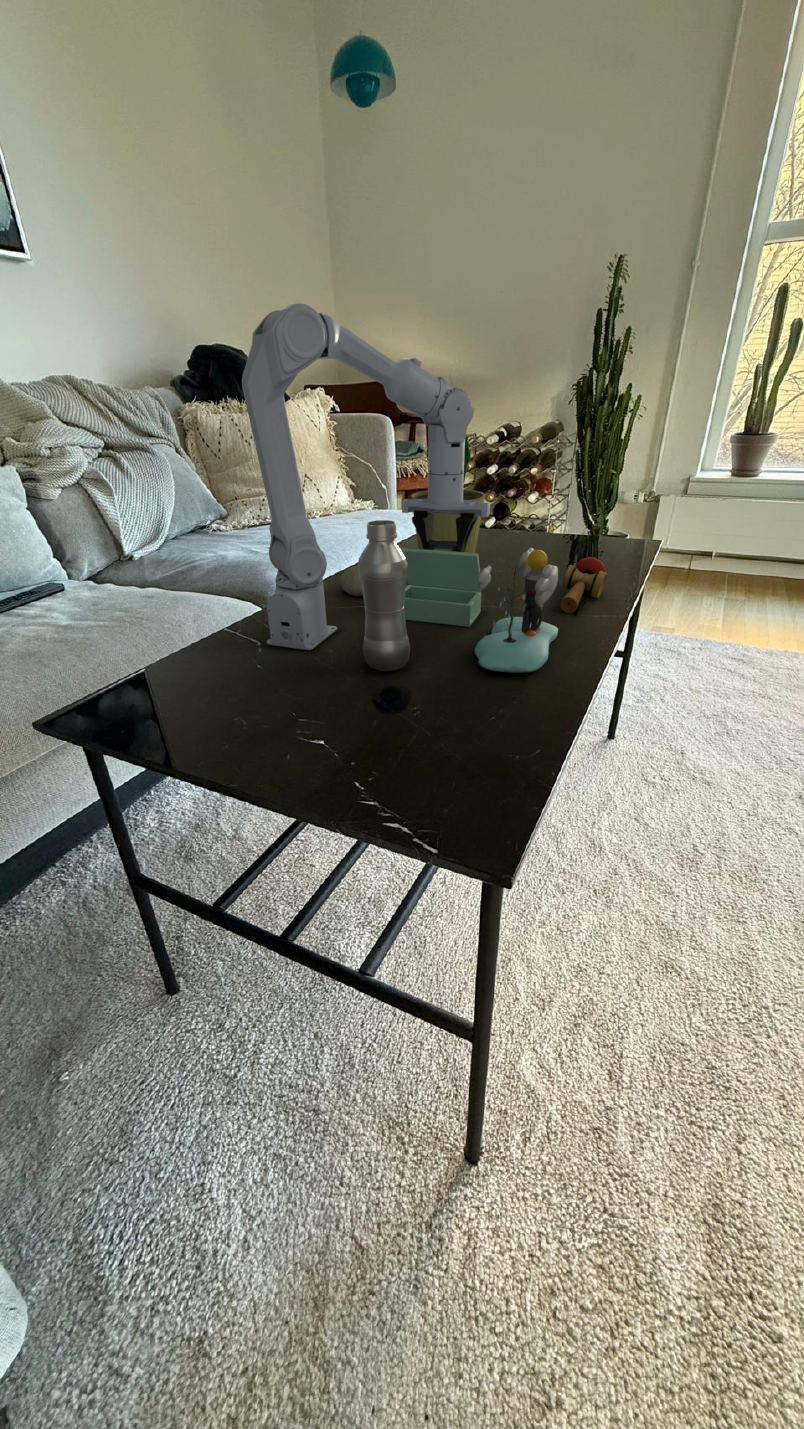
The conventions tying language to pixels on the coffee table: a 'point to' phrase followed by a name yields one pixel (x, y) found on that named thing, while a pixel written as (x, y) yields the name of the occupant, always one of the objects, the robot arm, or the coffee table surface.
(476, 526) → the potted cactus
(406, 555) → the lid
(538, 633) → the figurine on blue base
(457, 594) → the teal open box
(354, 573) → the sea urchin shell
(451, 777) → the coffee table surface
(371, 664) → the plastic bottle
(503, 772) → the coffee table surface
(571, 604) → the kendama
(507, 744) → the coffee table surface
